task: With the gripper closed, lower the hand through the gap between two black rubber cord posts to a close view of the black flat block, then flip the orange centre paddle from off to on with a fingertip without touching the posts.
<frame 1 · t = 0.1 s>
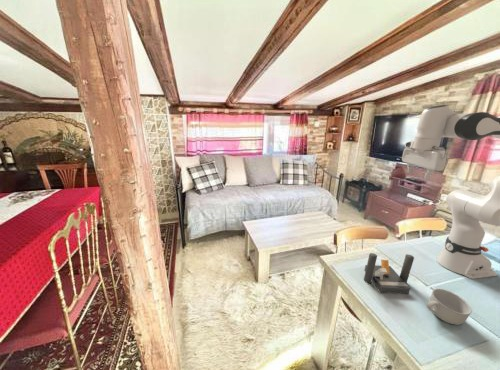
hand: (417, 175, 91), 48 cm above the table, fingers open, 8 cm apart
paddle right: (376, 275, 93), point 3 cm above the table, hinge at -30.0°
cord post b: (367, 280, 94), on the table
cord post a: (402, 281, 93), on the table
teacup: (440, 316, 77), on the table
black flat block: (384, 281, 94), on the table
paddle centre: (386, 275, 93), point 3 cm above the table, hinge at 30.0°
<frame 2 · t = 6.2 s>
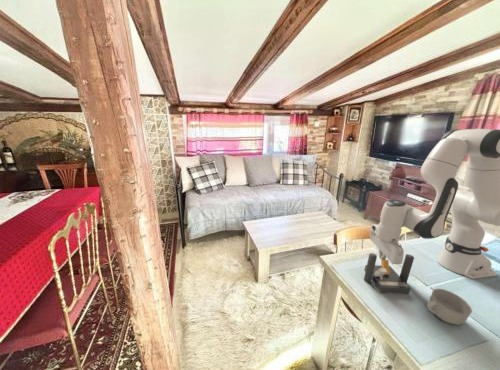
hand: (381, 259, 96), 8 cm above the table, fingers closed
paddle centre: (386, 275, 93), point 3 cm above the table, hinge at 29.3°, touching gripper
everything else where it was.
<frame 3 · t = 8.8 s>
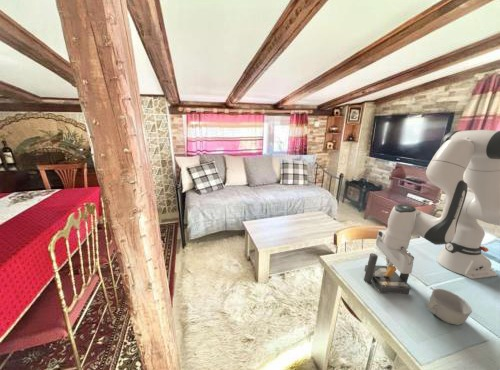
hand: (388, 267, 90), 8 cm above the table, fingers closed, pressing on paddle centre
paddle centre: (386, 275, 93), point 3 cm above the table, hinge at -20.7°, touching gripper
everything else where it was.
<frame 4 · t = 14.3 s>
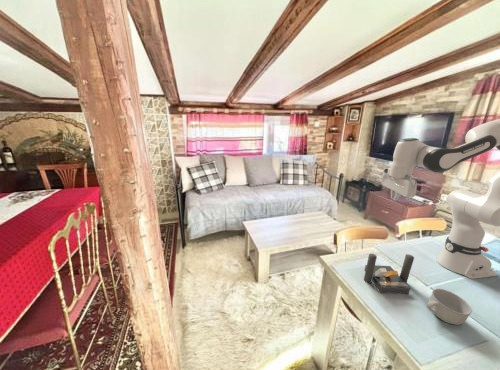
hand: (394, 199, 100), 34 cm above the table, fingers closed
paddle centre: (386, 275, 93), point 3 cm above the table, hinge at -37.5°
everything else where it was.
at the end: paddle centre at -38° (first picture: +30°); cord post a moved 0.0 cm from its start; cord post b moved 0.1 cm from its start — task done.
